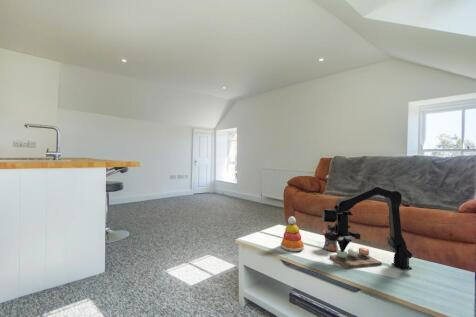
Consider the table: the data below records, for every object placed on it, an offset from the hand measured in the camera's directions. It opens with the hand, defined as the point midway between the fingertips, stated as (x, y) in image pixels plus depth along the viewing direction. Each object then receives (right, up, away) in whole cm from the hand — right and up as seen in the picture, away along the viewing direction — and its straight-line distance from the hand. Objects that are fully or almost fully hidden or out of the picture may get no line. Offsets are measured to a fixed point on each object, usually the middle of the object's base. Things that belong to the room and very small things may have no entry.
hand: (342, 251), depth 126 cm
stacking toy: (-23, -5, +18) cm, 29 cm away
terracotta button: (+13, -2, +3) cm, 14 cm away
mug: (+1, -6, +18) cm, 19 cm away
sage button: (0, -2, 0) cm, 2 cm away
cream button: (+7, -2, +2) cm, 7 cm away
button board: (+7, -5, 0) cm, 9 cm away
